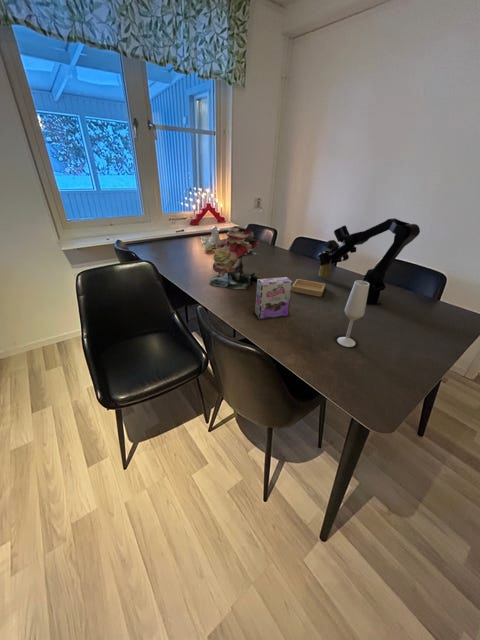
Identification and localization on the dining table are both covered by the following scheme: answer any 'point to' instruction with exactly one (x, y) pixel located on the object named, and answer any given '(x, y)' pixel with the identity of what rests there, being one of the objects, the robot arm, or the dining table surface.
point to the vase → (325, 268)
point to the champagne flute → (355, 308)
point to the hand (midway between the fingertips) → (324, 264)
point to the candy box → (273, 297)
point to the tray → (308, 287)
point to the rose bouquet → (234, 259)
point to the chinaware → (211, 239)
